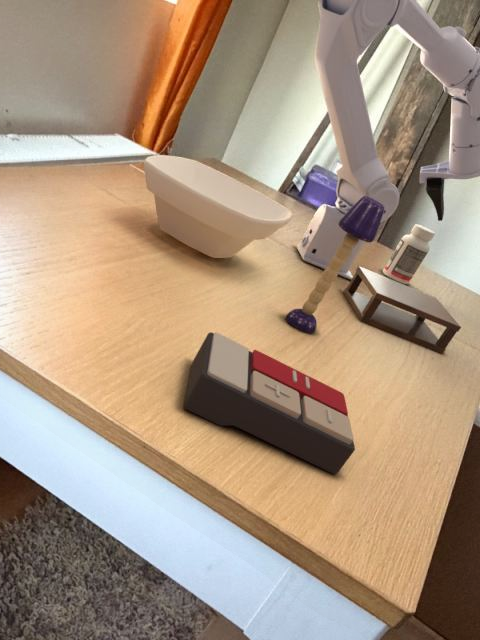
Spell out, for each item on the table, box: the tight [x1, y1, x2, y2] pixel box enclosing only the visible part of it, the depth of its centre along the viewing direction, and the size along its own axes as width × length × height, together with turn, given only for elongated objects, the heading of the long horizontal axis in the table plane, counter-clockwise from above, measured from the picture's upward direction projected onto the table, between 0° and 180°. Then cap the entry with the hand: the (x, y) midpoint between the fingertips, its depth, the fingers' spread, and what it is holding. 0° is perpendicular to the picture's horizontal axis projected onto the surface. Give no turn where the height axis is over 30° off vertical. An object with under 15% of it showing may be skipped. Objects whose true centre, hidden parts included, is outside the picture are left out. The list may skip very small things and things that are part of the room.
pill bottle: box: [382, 223, 436, 285], centre depth 139 cm, size 5×5×10 cm
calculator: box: [183, 331, 356, 475], centre depth 69 cm, size 11×4×15 cm
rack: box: [342, 265, 462, 354], centre depth 114 cm, size 14×12×4 cm
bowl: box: [143, 154, 293, 259], centre depth 107 cm, size 21×21×9 cm
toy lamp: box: [285, 196, 384, 334], centre depth 93 cm, size 5×5×17 cm
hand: (464, 216), depth 131 cm, fingers open, 7 cm apart
